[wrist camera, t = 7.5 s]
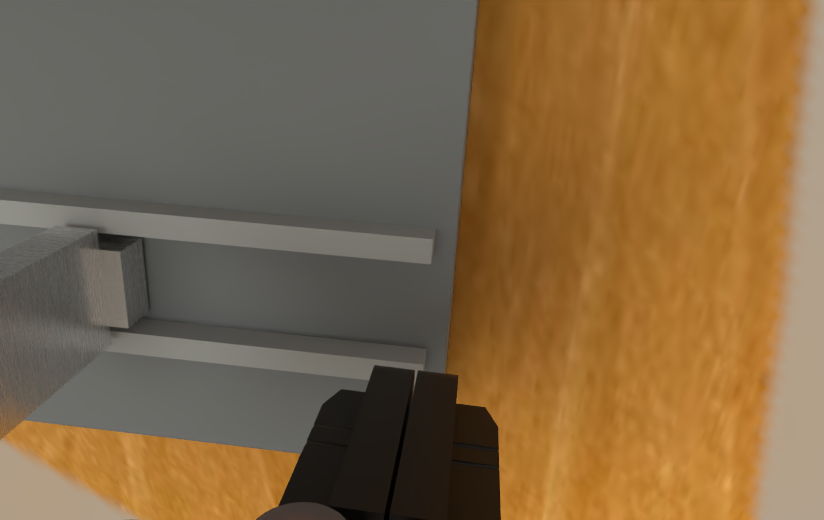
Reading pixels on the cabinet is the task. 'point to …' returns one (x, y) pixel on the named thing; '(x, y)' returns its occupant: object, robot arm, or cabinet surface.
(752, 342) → the cabinet surface
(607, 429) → the cabinet surface
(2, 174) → the control panel
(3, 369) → the slide paddle
